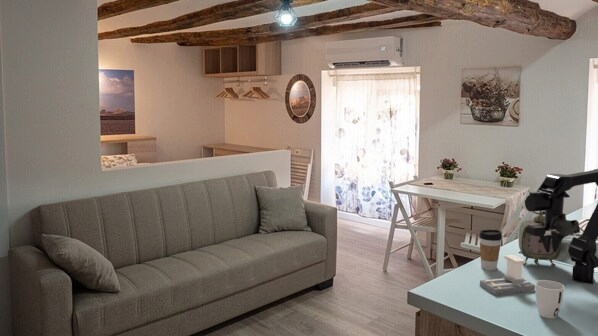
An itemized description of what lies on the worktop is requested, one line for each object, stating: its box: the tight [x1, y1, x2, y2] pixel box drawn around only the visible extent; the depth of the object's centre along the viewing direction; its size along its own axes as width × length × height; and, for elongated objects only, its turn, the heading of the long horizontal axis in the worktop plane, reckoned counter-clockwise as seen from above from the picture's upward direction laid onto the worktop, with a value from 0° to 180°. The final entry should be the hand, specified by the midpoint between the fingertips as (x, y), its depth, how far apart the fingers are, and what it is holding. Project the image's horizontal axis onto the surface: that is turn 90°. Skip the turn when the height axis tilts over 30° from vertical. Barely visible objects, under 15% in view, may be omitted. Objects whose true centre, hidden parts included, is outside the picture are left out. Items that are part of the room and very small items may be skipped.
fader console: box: [479, 276, 536, 296], centre depth 186 cm, size 16×9×3 cm, turn 104°
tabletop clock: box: [518, 211, 562, 268], centre depth 209 cm, size 14×9×25 cm, turn 77°
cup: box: [534, 279, 565, 319], centre depth 164 cm, size 8×8×10 cm
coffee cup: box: [478, 229, 503, 271], centre depth 207 cm, size 8×8×15 cm
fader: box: [502, 254, 525, 283], centre depth 186 cm, size 4×7×8 cm, turn 14°
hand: (551, 251), depth 189 cm, fingers open, 3 cm apart
